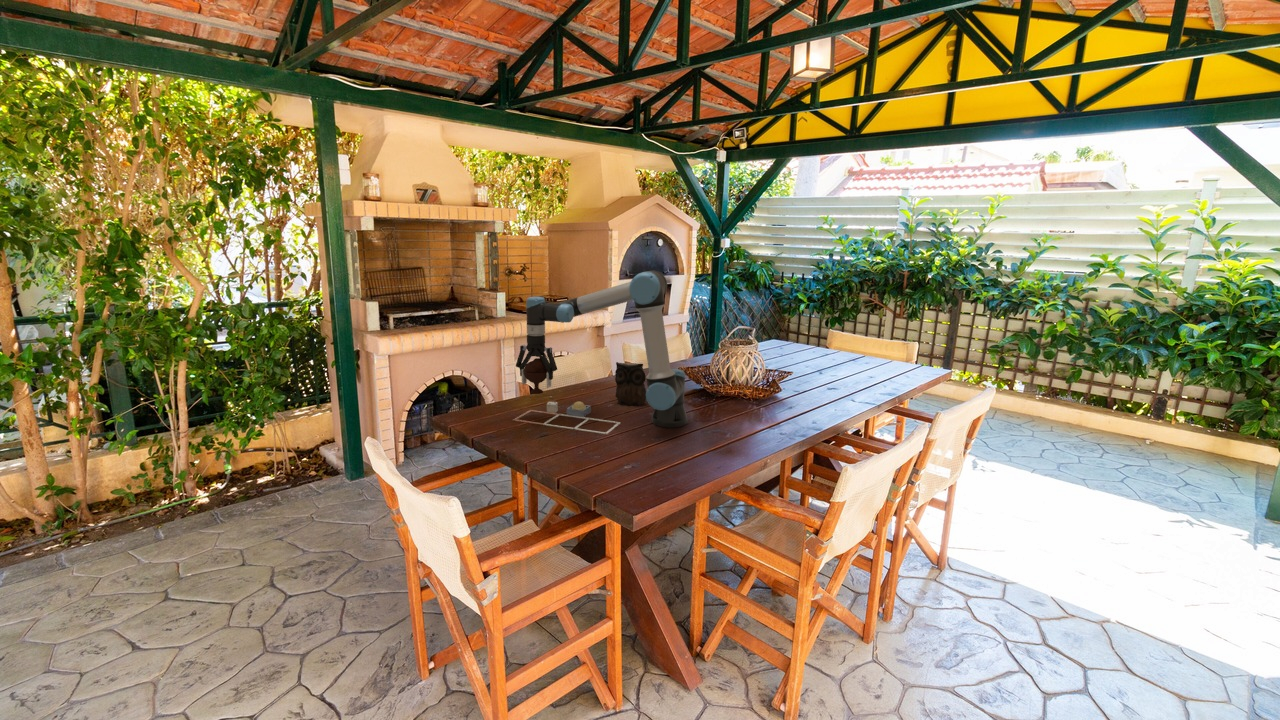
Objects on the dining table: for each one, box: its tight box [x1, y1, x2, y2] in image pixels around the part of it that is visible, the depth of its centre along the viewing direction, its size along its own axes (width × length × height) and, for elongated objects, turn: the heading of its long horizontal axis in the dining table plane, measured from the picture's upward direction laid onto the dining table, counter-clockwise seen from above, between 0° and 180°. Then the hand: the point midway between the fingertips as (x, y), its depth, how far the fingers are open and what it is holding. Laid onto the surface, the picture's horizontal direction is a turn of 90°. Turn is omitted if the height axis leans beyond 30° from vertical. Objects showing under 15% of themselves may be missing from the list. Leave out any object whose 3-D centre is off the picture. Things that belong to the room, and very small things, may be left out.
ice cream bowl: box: [523, 357, 548, 395], centre depth 245 cm, size 11×11×15 cm
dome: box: [572, 400, 586, 410], centre depth 255 cm, size 6×6×5 cm
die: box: [546, 401, 559, 413], centre depth 258 cm, size 4×4×4 cm
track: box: [512, 409, 622, 435], centre depth 245 cm, size 15×43×1 cm, turn 71°
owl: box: [614, 361, 647, 407], centre depth 270 cm, size 13×13×20 cm
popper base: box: [566, 403, 592, 417], centre depth 256 cm, size 8×8×3 cm
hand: (536, 385), depth 246 cm, fingers closed on ice cream bowl, 11 cm apart
